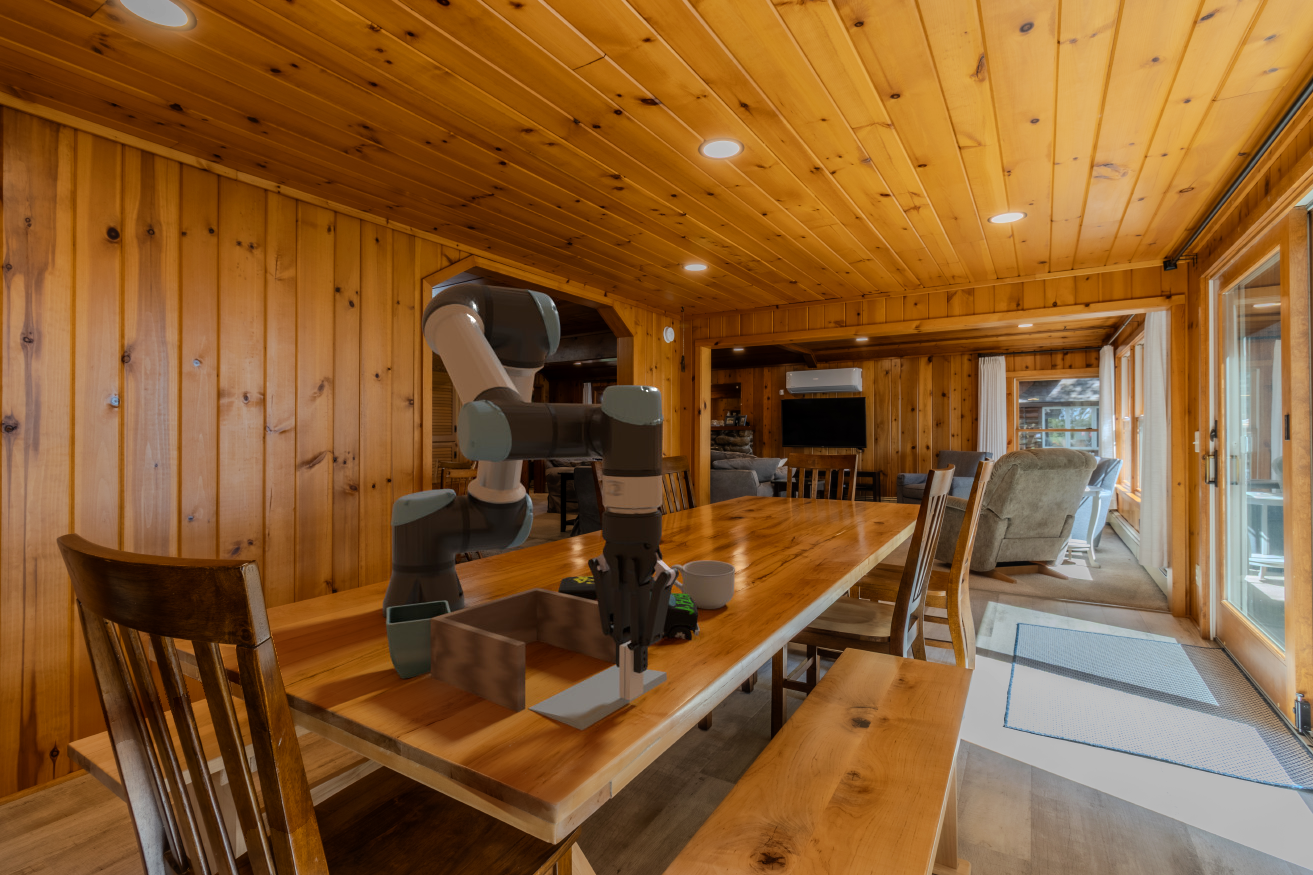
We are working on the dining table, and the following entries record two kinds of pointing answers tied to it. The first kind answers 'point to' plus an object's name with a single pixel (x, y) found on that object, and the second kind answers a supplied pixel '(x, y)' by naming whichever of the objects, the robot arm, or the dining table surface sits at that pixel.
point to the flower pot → (412, 636)
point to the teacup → (707, 582)
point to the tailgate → (593, 698)
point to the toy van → (680, 605)
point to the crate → (512, 641)
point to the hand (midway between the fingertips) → (631, 694)
